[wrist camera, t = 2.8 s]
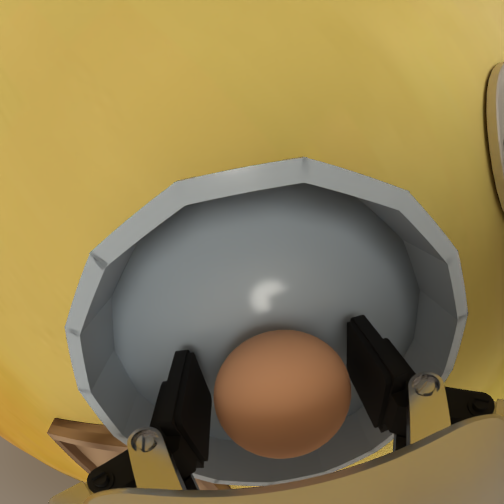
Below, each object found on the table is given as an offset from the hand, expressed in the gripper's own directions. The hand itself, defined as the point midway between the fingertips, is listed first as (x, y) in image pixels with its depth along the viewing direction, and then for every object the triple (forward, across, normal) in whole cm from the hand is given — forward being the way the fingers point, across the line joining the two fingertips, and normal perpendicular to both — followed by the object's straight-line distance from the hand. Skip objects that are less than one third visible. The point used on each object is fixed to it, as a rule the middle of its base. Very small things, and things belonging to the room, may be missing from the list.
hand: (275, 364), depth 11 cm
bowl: (+2, 0, 0) cm, 2 cm away
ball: (+1, 0, 0) cm, 1 cm away
